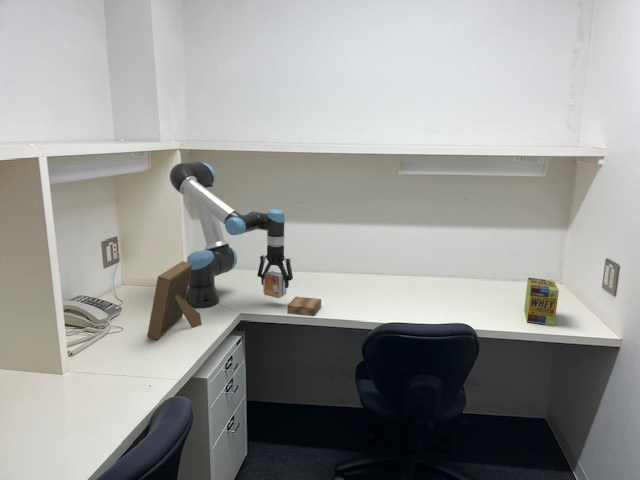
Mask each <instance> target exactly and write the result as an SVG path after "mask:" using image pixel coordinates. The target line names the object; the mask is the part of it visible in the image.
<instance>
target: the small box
mask: <svg viewBox="0 0 640 480" xmlns="http://www.w3.org/2000/svg"><path fill="white" fill-rule="evenodd" d="M284 280H285V279H284V277H283V275H282V273H281V271H274V270H270V271H268V272H267V273H265V286H264V293H263V294H264V296H268V297H272V298H274V299H275V298H276V299H280V298H282V297H285V295H283V281H284Z"/></svg>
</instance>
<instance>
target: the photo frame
mask: <svg viewBox="0 0 640 480" xmlns="http://www.w3.org/2000/svg"><path fill="white" fill-rule="evenodd" d="M192 265H193V264H191V263H188V262H187V261H183V260H182V261H180V262H179V263H177V264H175V265H174V266H172V267H170V268H169V269H167V270H166V271H164V272H163V273H161V274H159V275H157V281H156V284H155V285H156V286H155V290H154V296H153V301H152V308H151V313H150V317H149V318H150V319H149V325H148V328H147V333H146V334H147V335H146V338H148V339H151V340H155V341H159V340H160V339H162V337H164V336H165V335H166V334H167V333H166V332H169V331H170V330H171V329H172V328H173V327H174V326H175V325H176V324H178V323H179V322H180V321H181V320H182V319H183V315H184V316H185V319H186V320H187V322H188V324H189V325H190V327H191V328H196V327H198V326H202V318H201V313H199V312H198V311H197V310H196V308H193V307H191V306H190V305H189V304H188V303H187V302H186V301H185V300H186V295H187V291H188V285H189V280H190V275H191V270H192Z"/></svg>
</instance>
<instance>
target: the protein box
mask: <svg viewBox="0 0 640 480" xmlns="http://www.w3.org/2000/svg"><path fill="white" fill-rule="evenodd" d="M558 299H559V289H558V286H557V284H556V283H555V280H552V279H551V280H550V279H544V278H535V277H528V278H527V284H526V292H525V301H524V310H523V311H524V315H525V319H526V320H525V321H526V323H527V324H535V325H543V326H549V327H555V321H556V317H557V316H556V314H557V306H558Z"/></svg>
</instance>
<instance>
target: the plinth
mask: <svg viewBox="0 0 640 480" xmlns="http://www.w3.org/2000/svg"><path fill="white" fill-rule="evenodd" d="M321 307H322V298H315V297H303V296H295V297H294V298H293V299H292V300H290V302H289V303H288V304H287V314H292V315H301V316H308V315H309V316H308V317H310V316H311V317H315V315H317V313H318V312H319V310H320V309H321Z"/></svg>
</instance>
